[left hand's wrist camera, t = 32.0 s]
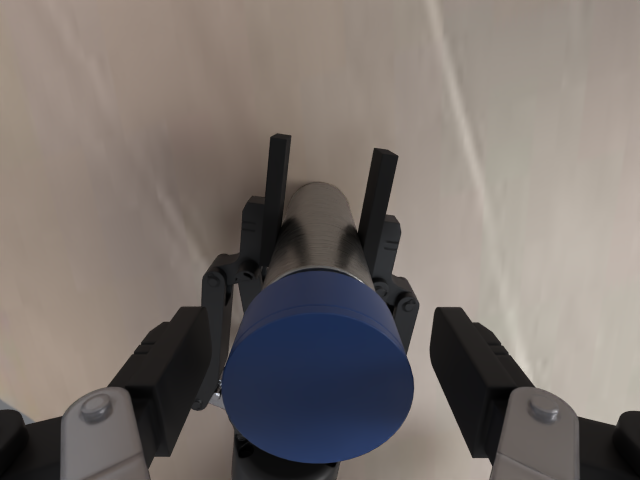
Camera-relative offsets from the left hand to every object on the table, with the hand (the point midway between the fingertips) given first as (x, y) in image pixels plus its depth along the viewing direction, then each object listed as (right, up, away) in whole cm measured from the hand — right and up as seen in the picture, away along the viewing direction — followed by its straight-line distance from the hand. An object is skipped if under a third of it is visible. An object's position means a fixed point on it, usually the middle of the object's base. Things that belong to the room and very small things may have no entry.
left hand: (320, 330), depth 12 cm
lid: (0, -1, -2) cm, 2 cm away
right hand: (+1, +8, +6) cm, 10 cm away
